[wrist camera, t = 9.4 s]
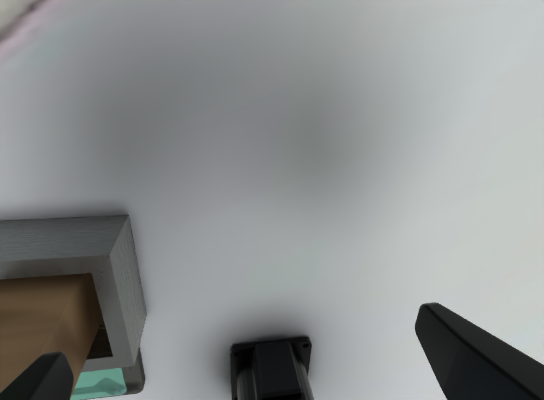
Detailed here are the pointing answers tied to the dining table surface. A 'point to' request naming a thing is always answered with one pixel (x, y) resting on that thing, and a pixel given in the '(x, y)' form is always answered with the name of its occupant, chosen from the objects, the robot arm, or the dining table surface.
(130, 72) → the dining table surface
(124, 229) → the gray open box
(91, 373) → the smartphone
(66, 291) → the rail post
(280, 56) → the dining table surface
